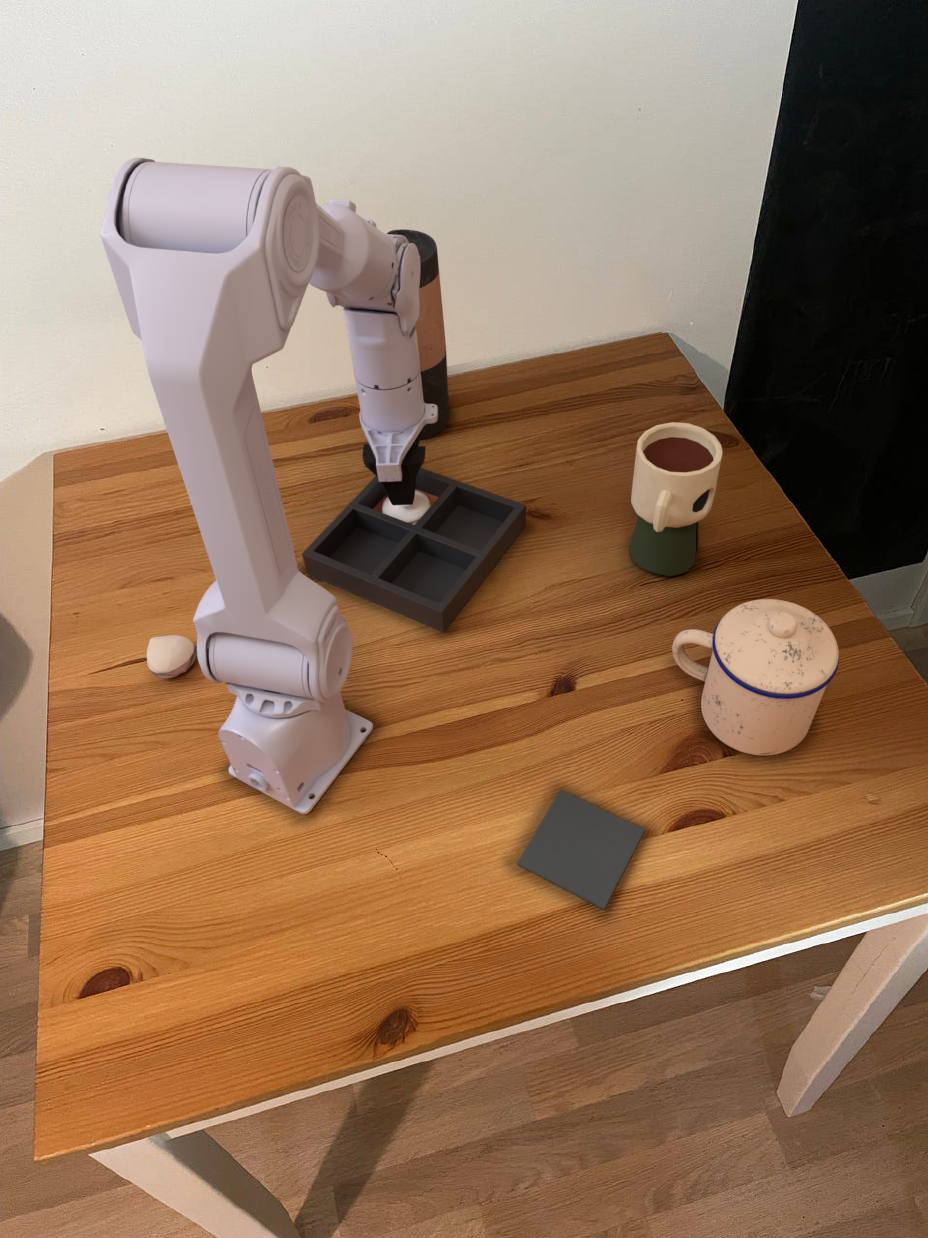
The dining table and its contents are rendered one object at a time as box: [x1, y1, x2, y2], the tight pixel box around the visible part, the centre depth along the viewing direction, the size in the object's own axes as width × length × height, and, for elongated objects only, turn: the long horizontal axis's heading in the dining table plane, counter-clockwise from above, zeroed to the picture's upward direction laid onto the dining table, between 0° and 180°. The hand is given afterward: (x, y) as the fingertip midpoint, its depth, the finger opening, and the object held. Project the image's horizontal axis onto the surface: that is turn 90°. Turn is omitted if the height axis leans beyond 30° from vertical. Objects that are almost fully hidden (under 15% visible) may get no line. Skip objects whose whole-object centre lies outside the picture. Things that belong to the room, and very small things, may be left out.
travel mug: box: [386, 228, 450, 440], centre depth 95 cm, size 8×8×20 cm
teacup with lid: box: [671, 598, 840, 756], centre depth 71 cm, size 12×9×12 cm
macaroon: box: [146, 634, 197, 679], centre depth 81 cm, size 4×5×2 cm
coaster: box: [516, 789, 646, 911], centre depth 68 cm, size 7×7×1 cm
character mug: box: [628, 421, 723, 577], centre depth 82 cm, size 11×7×13 cm, turn 158°
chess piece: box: [382, 490, 431, 525], centre depth 88 cm, size 5×5×10 cm
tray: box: [301, 467, 527, 633], centre depth 88 cm, size 15×15×3 cm
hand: (403, 489), depth 90 cm, fingers open, 3 cm apart
